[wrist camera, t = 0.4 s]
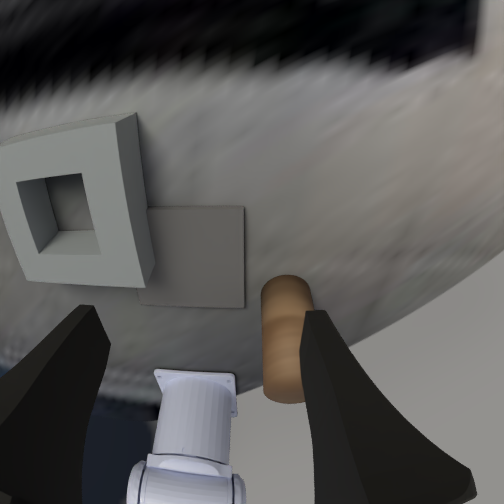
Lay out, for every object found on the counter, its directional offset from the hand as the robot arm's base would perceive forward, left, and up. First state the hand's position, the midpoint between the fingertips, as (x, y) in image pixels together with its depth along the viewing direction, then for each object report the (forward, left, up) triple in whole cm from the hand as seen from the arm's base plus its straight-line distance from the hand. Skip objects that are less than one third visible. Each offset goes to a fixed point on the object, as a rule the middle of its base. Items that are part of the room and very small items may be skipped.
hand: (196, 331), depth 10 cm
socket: (+1, +10, -10) cm, 14 cm away
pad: (-4, +3, -10) cm, 11 cm away
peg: (-7, -4, -10) cm, 13 cm away
